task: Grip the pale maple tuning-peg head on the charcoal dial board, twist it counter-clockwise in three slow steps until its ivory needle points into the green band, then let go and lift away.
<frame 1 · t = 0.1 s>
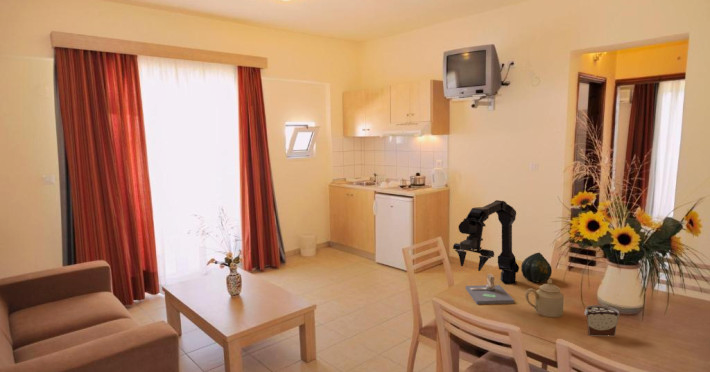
hand: (470, 268, 193), 15 cm above the table, tool pointing down, fingers open, 9 cm apart
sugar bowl: (545, 313, 179), on the table
squash: (535, 280, 219), on the table
tuner dial board: (490, 292, 203), on the table
tuning peg: (482, 282, 202), point 5 cm above the table, hinge at 0.0°
food container: (598, 332, 162), on the table
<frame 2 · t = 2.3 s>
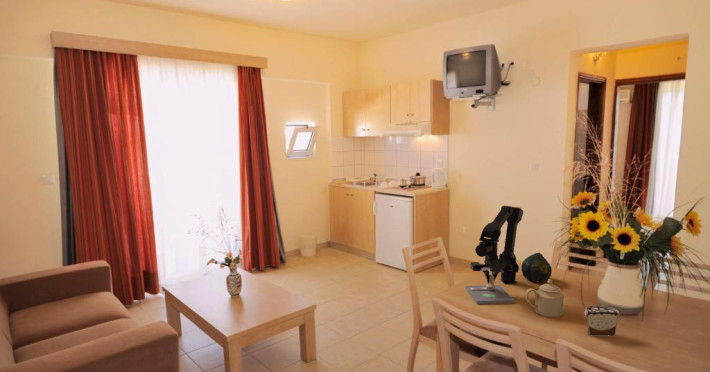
hand: (490, 283, 203), 5 cm above the table, tool pointing down, fingers closed on tuning peg, 2 cm apart
tuning peg: (482, 282, 202), point 5 cm above the table, hinge at 0.0°, touching gripper
everything else where it was.
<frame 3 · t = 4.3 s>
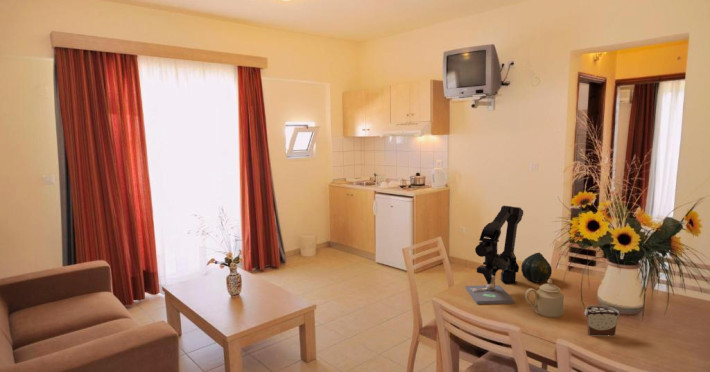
hand: (490, 283, 203), 5 cm above the table, tool pointing down, fingers closed on tuning peg, 3 cm apart
tuning peg: (483, 283, 202), point 5 cm above the table, hinge at 12.9°, touching gripper
everything else where it was.
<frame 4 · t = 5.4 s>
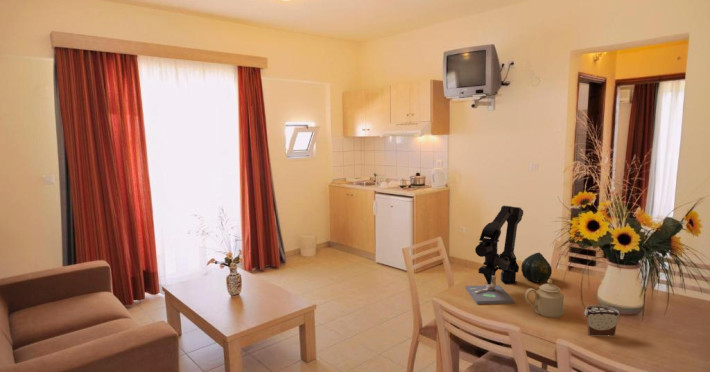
hand: (490, 283, 203), 5 cm above the table, tool pointing down, fingers closed on tuning peg, 3 cm apart
tuning peg: (484, 283, 201), point 5 cm above the table, hinge at 26.4°, touching gripper
everything else where it was.
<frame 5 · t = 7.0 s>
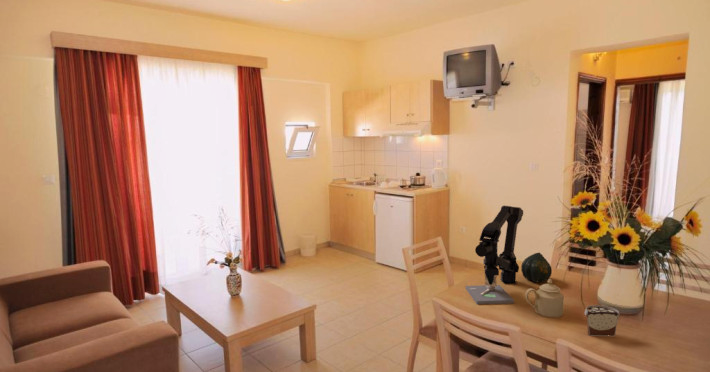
hand: (490, 283, 203), 5 cm above the table, tool pointing down, fingers closed on tuning peg, 3 cm apart
tuning peg: (487, 284, 200), point 5 cm above the table, hinge at 46.7°, touching gripper
everything else where it was.
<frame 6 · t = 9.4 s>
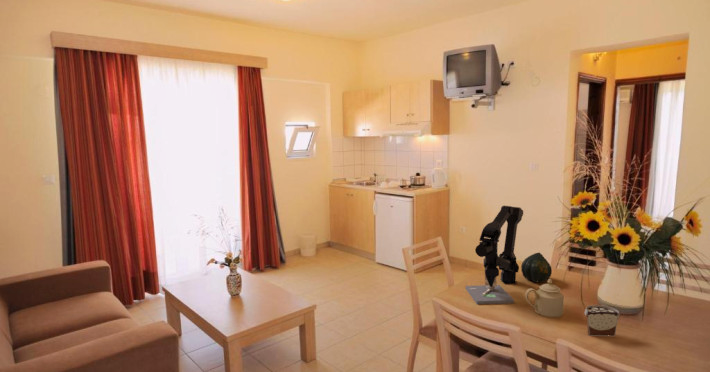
hand: (490, 283, 203), 5 cm above the table, tool pointing down, fingers open, 9 cm apart
tuning peg: (487, 284, 200), point 5 cm above the table, hinge at 51.8°
everything else where it was.
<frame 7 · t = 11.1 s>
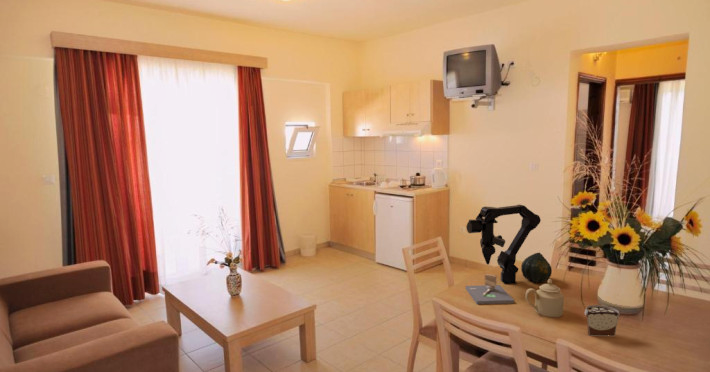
hand: (487, 261, 213), 12 cm above the table, tool pointing down, fingers open, 9 cm apart
tuning peg: (487, 284, 199), point 5 cm above the table, hinge at 52.7°
everything else where it was.
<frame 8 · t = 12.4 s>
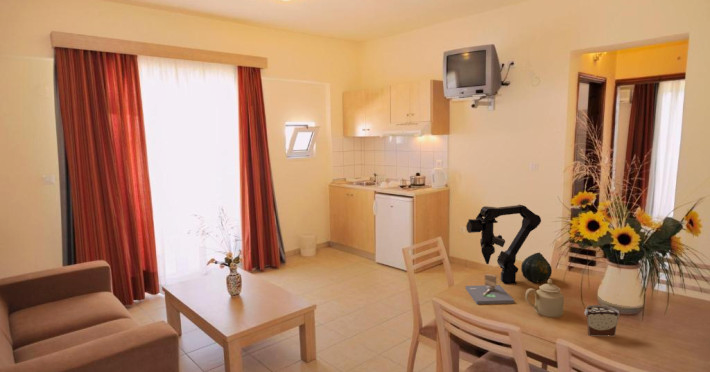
hand: (487, 261, 213), 12 cm above the table, tool pointing down, fingers open, 9 cm apart
nothing on the table moved.
at the end: tuning peg at +53° (first picture: +0°); the gripper is holding nothing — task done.
